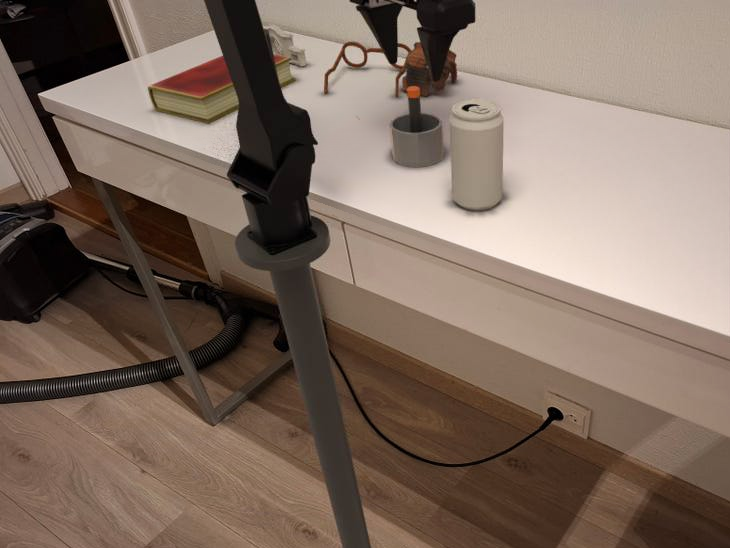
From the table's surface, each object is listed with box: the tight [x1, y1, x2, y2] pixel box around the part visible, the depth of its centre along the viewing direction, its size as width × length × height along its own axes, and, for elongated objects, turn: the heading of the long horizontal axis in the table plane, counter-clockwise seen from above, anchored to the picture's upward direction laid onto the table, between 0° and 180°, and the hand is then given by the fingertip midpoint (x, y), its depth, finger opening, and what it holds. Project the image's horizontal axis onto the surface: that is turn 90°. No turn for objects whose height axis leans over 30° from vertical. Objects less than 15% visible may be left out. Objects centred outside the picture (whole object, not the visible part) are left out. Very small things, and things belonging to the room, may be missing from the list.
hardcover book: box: [147, 54, 296, 124], centre depth 113 cm, size 12×21×4 cm, turn 152°
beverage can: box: [448, 98, 505, 211], centre depth 82 cm, size 6×6×12 cm
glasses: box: [323, 41, 412, 98], centre depth 116 cm, size 13×13×5 cm
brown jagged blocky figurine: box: [401, 41, 458, 97], centre depth 114 cm, size 12×10×8 cm
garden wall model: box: [263, 24, 307, 67], centre depth 125 cm, size 12×2×6 cm, turn 50°
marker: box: [406, 86, 422, 133], centre depth 92 cm, size 2×2×9 cm
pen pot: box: [388, 112, 445, 168], centre depth 94 cm, size 7×7×5 cm
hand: (414, 72), depth 88 cm, fingers open, 9 cm apart
